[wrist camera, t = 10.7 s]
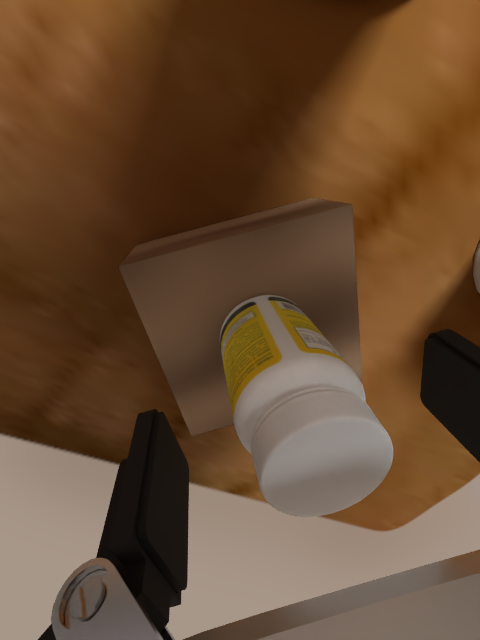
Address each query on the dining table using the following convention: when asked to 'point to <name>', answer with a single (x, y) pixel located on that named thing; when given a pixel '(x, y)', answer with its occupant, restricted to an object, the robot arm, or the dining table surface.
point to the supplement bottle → (300, 410)
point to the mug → (477, 268)
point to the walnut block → (242, 292)
